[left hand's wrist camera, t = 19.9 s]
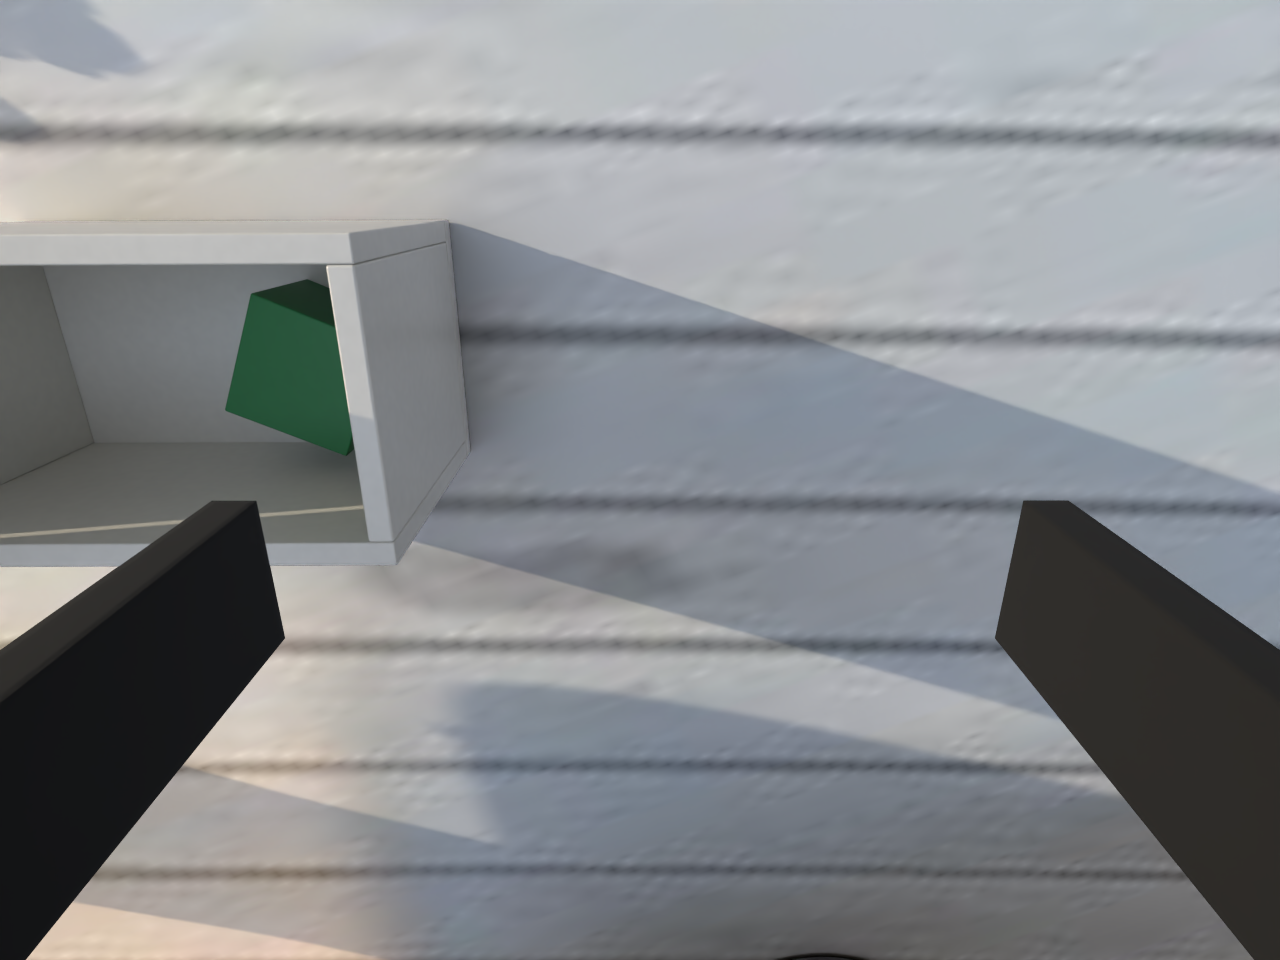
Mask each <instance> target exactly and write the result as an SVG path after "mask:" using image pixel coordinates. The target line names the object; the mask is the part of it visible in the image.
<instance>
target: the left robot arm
mask: <svg viewBox="0 0 1280 960" xmlns="http://www.w3.org/2000/svg"><path fill="white" fill-rule="evenodd" d="M284 639H285V636H284V631H283V626H282V621H281V616H280V612H279V607H278V602H277V597H276V592H275V588H274V583H273V578H272V573H271V568H270V563H269V559H268V554H267V549H266V544H265V539H264V534H263V530H262V525H261V520H260V515H259V510H258V505H257V501H211V502H209V503H208V504H206V505H205V506H203V507H202V508H201V509H199V510H198V511H196V512H195V513H194V514H192V515H191V516H189V517H188V518H187V519H185V520H184V521H182V522H181V523H179V524H178V525H177V526H175V527H174V528H172V529H171V530H170V531H168V532H167V533H165V534H164V535H162V536H161V537H160V538H158V539H157V540H155V541H154V542H153V543H151V544H150V545H148V546H147V547H145V548H144V549H143V550H141V551H140V552H138V553H137V554H136V555H134V556H133V557H131V558H130V559H129V560H127V561H126V562H124V563H123V564H121V565H120V566H119V567H117V568H116V569H114V570H113V571H112V572H110V573H109V574H107V575H106V576H104V577H103V578H102V579H100V580H99V581H97V582H96V583H95V584H93V585H92V586H90V587H89V588H88V589H86V590H85V591H83V592H82V593H80V594H79V595H78V596H76V597H75V598H73V599H72V600H71V601H69V602H68V603H66V604H65V605H63V606H62V607H61V608H59V609H58V610H56V611H55V612H54V613H52V614H51V615H49V616H48V617H46V618H45V619H44V620H42V621H41V622H39V623H38V624H37V625H35V626H34V627H32V628H31V629H30V630H28V631H27V632H25V633H24V634H22V635H21V636H20V637H18V638H17V639H15V640H14V641H13V642H11V643H10V644H8V645H7V646H5V647H4V648H3V649H1V650H0V960H26V959H27V958H28V956H29V955H30V954H31V953H32V951H33V950H34V949H35V948H36V946H37V945H38V944H39V943H40V941H41V940H42V939H43V938H44V936H45V935H46V934H47V933H48V931H49V930H50V929H51V928H52V927H53V925H54V924H55V923H56V922H57V920H58V919H59V918H60V917H61V915H62V914H63V913H64V912H65V910H66V909H67V908H68V907H69V905H70V904H71V903H72V902H73V900H74V899H75V898H76V897H77V896H78V894H79V893H80V892H81V891H82V889H83V888H84V887H85V886H86V884H87V883H88V882H89V881H90V879H91V878H92V877H93V876H94V874H95V873H96V872H97V871H98V869H99V868H100V867H101V866H102V864H103V863H104V862H105V861H106V860H107V858H108V857H109V856H110V855H111V853H112V852H113V851H114V850H115V848H116V847H117V846H118V845H119V843H120V842H121V841H122V840H123V838H124V837H125V836H126V835H127V833H128V832H129V831H130V830H131V829H132V827H133V826H134V825H135V824H136V822H137V821H138V820H139V819H140V817H141V816H142V815H143V814H144V812H145V811H146V810H147V809H148V807H149V806H150V805H151V804H152V802H153V801H154V800H155V799H156V798H157V796H158V795H159V794H160V793H161V791H162V790H163V789H164V788H165V786H166V785H167V784H168V783H169V781H170V780H171V779H172V778H173V776H174V775H175V774H176V773H177V771H178V770H179V769H180V768H181V767H182V765H183V764H184V763H185V762H186V760H187V759H188V758H189V757H190V755H191V754H192V753H193V752H194V750H195V749H196V748H197V747H198V745H199V744H200V743H201V742H202V740H203V739H204V738H205V737H206V736H207V734H208V733H209V732H210V731H211V729H212V728H213V727H214V726H215V724H216V723H217V722H218V721H219V719H220V718H221V717H222V716H223V714H224V713H225V712H226V711H227V709H228V708H229V707H230V706H231V705H232V703H233V702H234V701H235V700H236V698H237V697H238V696H239V695H240V693H241V692H242V691H243V690H244V688H245V687H246V686H247V685H248V683H249V682H250V681H251V680H252V678H253V677H254V676H255V675H256V673H257V672H258V671H259V670H260V669H261V667H262V666H263V665H264V664H265V662H266V661H267V660H268V659H269V657H270V656H271V655H272V654H273V652H274V651H275V650H276V649H277V647H278V646H279V645H280V644H281V642H282V641H283V640H284ZM995 639H996V640H997V641H998V642H999V644H1000V645H1001V646H1002V647H1003V649H1004V650H1005V651H1006V652H1007V654H1008V655H1009V656H1010V657H1011V659H1012V660H1013V661H1014V662H1015V664H1016V665H1017V666H1018V667H1019V669H1020V670H1021V671H1022V672H1023V674H1024V675H1025V676H1026V677H1027V678H1028V680H1029V681H1030V682H1031V683H1032V685H1033V686H1034V687H1035V688H1036V690H1037V691H1038V692H1039V693H1040V695H1041V696H1042V697H1043V698H1044V700H1045V701H1046V702H1047V703H1048V705H1049V706H1050V707H1051V708H1052V709H1053V711H1054V712H1055V713H1056V714H1057V716H1058V717H1059V718H1060V719H1061V721H1062V722H1063V723H1064V724H1065V726H1066V727H1067V728H1068V729H1069V731H1070V732H1071V733H1072V734H1073V736H1074V737H1075V738H1076V739H1077V740H1078V742H1079V743H1080V744H1081V745H1082V747H1083V748H1084V749H1085V750H1086V752H1087V753H1088V754H1089V755H1090V757H1091V758H1092V759H1093V760H1094V762H1095V763H1096V764H1097V765H1098V767H1099V768H1100V769H1101V770H1102V771H1103V773H1104V774H1105V775H1106V776H1107V778H1108V779H1109V780H1110V781H1111V783H1112V784H1113V785H1114V786H1115V788H1116V789H1117V790H1118V791H1119V793H1120V794H1121V795H1122V796H1123V798H1124V799H1125V800H1126V801H1127V802H1128V804H1129V805H1130V806H1131V807H1132V809H1133V810H1134V811H1135V812H1136V814H1137V815H1138V816H1139V817H1140V819H1141V820H1142V821H1143V822H1144V824H1145V825H1146V826H1147V827H1148V829H1149V830H1150V831H1151V832H1152V833H1153V835H1154V836H1155V837H1156V838H1157V840H1158V841H1159V842H1160V843H1161V845H1162V846H1163V847H1164V848H1165V850H1166V851H1167V852H1168V853H1169V855H1170V856H1171V857H1172V858H1173V860H1174V861H1175V862H1176V863H1177V865H1178V866H1179V867H1180V868H1181V869H1182V871H1183V872H1184V873H1185V874H1186V876H1187V877H1188V878H1189V879H1190V881H1191V882H1192V883H1193V884H1194V886H1195V887H1196V888H1197V889H1198V891H1199V892H1200V893H1201V894H1202V896H1203V897H1204V898H1205V899H1206V900H1207V902H1208V903H1209V904H1210V905H1211V907H1212V908H1213V909H1214V910H1215V912H1216V913H1217V914H1218V915H1219V917H1220V918H1221V919H1222V920H1223V922H1224V923H1225V924H1226V925H1227V927H1228V928H1229V929H1230V930H1231V931H1232V933H1233V934H1234V935H1235V936H1236V938H1237V939H1238V940H1239V941H1240V943H1241V944H1242V945H1243V946H1244V948H1245V949H1246V950H1247V951H1248V953H1249V954H1250V955H1251V956H1252V958H1253V959H1254V960H1280V650H1279V649H1277V648H1276V647H1275V646H1273V645H1272V644H1270V643H1269V642H1267V641H1266V640H1265V639H1263V638H1262V637H1260V636H1259V635H1258V634H1256V633H1255V632H1253V631H1252V630H1250V629H1249V628H1248V627H1246V626H1245V625H1243V624H1242V623H1241V622H1239V621H1238V620H1236V619H1235V618H1234V617H1232V616H1231V615H1229V614H1228V613H1226V612H1225V611H1224V610H1222V609H1221V608H1219V607H1218V606H1217V605H1215V604H1214V603H1212V602H1211V601H1209V600H1208V599H1207V598H1205V597H1204V596H1202V595H1201V594H1200V593H1198V592H1197V591H1195V590H1194V589H1192V588H1191V587H1190V586H1188V585H1187V584H1185V583H1184V582H1183V581H1181V580H1180V579H1178V578H1177V577H1176V576H1174V575H1173V574H1171V573H1170V572H1168V571H1167V570H1166V569H1164V568H1163V567H1161V566H1160V565H1159V564H1157V563H1156V562H1154V561H1153V560H1151V559H1150V558H1149V557H1147V556H1146V555H1144V554H1143V553H1142V552H1140V551H1139V550H1137V549H1136V548H1135V547H1133V546H1132V545H1130V544H1129V543H1127V542H1126V541H1125V540H1123V539H1122V538H1120V537H1119V536H1118V535H1116V534H1115V533H1113V532H1112V531H1110V530H1109V529H1108V528H1106V527H1105V526H1103V525H1102V524H1101V523H1099V522H1098V521H1096V520H1095V519H1093V518H1092V517H1091V516H1089V515H1088V514H1086V513H1085V512H1084V511H1082V510H1081V509H1079V508H1078V507H1077V506H1075V505H1074V504H1072V503H1071V502H1069V501H1023V505H1022V510H1021V515H1020V520H1019V525H1018V530H1017V534H1016V539H1015V544H1014V549H1013V554H1012V559H1011V563H1010V568H1009V573H1008V578H1007V583H1006V588H1005V592H1004V597H1003V602H1002V607H1001V612H1000V616H999V621H998V626H997V631H996V636H995ZM794 960H851V959H844V958H834V957H811V958H801V959H794Z"/></svg>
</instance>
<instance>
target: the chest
mask: <svg viewBox="0 0 1280 960" xmlns="http://www.w3.org/2000/svg"><path fill="white" fill-rule="evenodd" d="M306 279H308V280H311V281H313V282H316V283H318V284H321V285H323V286H325V287H328V288H330V295H331V301H332V308H333V314H334V320H335V327H336V333H337V340H338V346H339V352H340V359H341V365H342V372H343V378H344V384H345V391H346V397H347V404H348V410H349V417H350V423H351V429H352V436H353V442H354V450H353V451H352V452H351V453H349V454H348V455H347V456H344V455H342V454H339V453H336V452H334V451H331V450H328V449H326V448H323V447H320V446H318V445H315V444H312V443H310V442H307V441H304V440H302V439H299V438H296V437H294V436H291V435H288V434H286V433H283V432H280V431H278V430H275V429H272V428H270V427H267V426H264V425H262V424H259V423H256V422H254V421H251V420H248V419H246V418H243V417H240V416H238V415H235V414H232V413H230V412H227V411H225V407H226V403H227V398H228V394H229V389H230V385H231V380H232V376H233V371H234V367H235V362H236V358H237V354H238V349H239V345H240V340H241V336H242V331H243V327H244V322H245V318H246V313H247V309H248V304H249V300H250V295H251V293H255V292H259V291H262V290H266V289H270V288H274V287H278V286H282V285H286V284H290V283H294V282H298V281H302V280H306ZM469 453H470V440H469V430H468V419H467V408H466V398H465V387H464V377H463V366H462V355H461V345H460V334H459V324H458V313H457V302H456V292H455V281H454V271H453V260H452V249H451V239H450V228H449V221H448V220H235V221H24V222H0V567H92V566H120V565H121V564H123V563H124V562H126V561H127V560H129V559H130V558H131V557H133V556H134V555H136V554H137V553H138V552H140V551H141V550H143V549H144V548H145V547H147V546H148V545H150V544H151V543H153V542H154V541H155V540H157V539H158V538H160V537H161V536H162V535H164V534H165V533H167V532H168V531H170V530H171V529H172V528H174V527H175V526H177V525H178V524H179V523H181V522H182V521H184V520H185V519H187V518H188V517H189V516H191V515H192V514H194V513H195V512H196V511H198V510H199V509H201V508H202V507H203V506H205V505H206V504H208V503H209V502H211V501H257V505H258V510H259V515H260V520H261V525H262V530H263V534H264V539H265V544H266V549H267V554H268V559H269V563H270V566H332V565H397V564H398V563H399V561H400V560H401V558H402V557H403V555H404V554H405V552H406V550H407V549H408V547H409V546H410V544H411V543H412V541H413V540H414V538H415V537H416V535H417V534H418V532H419V531H420V529H421V528H422V526H423V524H424V523H425V521H426V520H427V518H428V517H429V515H430V514H431V512H432V511H433V509H434V508H435V506H436V505H437V503H438V501H439V500H440V498H441V497H442V495H443V494H444V492H445V491H446V489H447V488H448V486H449V485H450V483H451V482H452V480H453V479H454V477H455V475H456V474H457V472H458V471H459V469H460V468H461V466H462V465H463V463H464V462H465V460H466V459H467V456H468V455H469Z"/></svg>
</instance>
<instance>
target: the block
mask: <svg viewBox="0 0 1280 960" xmlns="http://www.w3.org/2000/svg"><path fill="white" fill-rule="evenodd" d="M225 411H227V412H230V413H232V414H235V415H238V416H240V417H243V418H246V419H248V420H251V421H254V422H256V423H259V424H262V425H264V426H267V427H270V428H272V429H275V430H278V431H280V432H283V433H286V434H288V435H291V436H294V437H296V438H299V439H302V440H304V441H307V442H310V443H312V444H315V445H318V446H320V447H323V448H326V449H328V450H331V451H334V452H336V453H339V454H342V455H344V456H347V455H348V454H349V453H351V452H352V451H353V450H354V442H353V436H352V429H351V423H350V417H349V410H348V404H347V397H346V391H345V384H344V378H343V372H342V365H341V359H340V352H339V346H338V340H337V333H336V327H335V320H334V314H333V308H332V301H331V295H330V288H328V287H325V286H323V285H321V284H318V283H316V282H313V281H311V280H308V279H306V280H302V281H298V282H294V283H290V284H286V285H282V286H278V287H274V288H270V289H266V290H262V291H259V292H255V293H251V295H250V300H249V304H248V309H247V313H246V318H245V322H244V327H243V331H242V336H241V340H240V345H239V349H238V354H237V358H236V362H235V367H234V371H233V376H232V380H231V385H230V389H229V394H228V398H227V403H226V407H225Z"/></svg>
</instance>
